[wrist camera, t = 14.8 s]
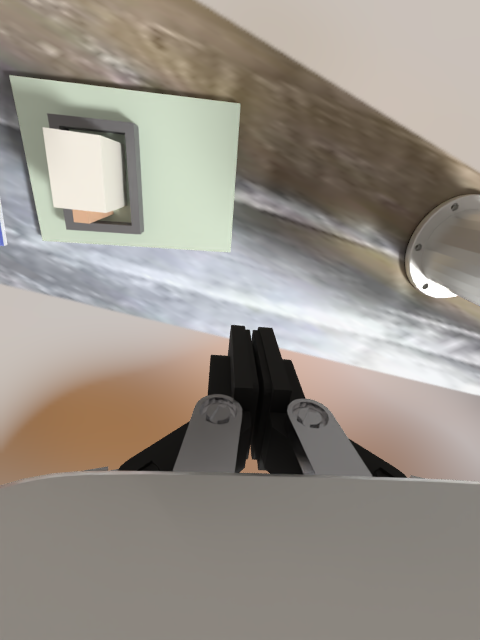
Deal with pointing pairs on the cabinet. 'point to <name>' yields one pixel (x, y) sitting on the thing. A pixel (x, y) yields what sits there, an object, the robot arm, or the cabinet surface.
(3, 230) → the hard drive
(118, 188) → the plug
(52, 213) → the socket board
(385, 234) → the cabinet surface
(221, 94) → the cabinet surface
